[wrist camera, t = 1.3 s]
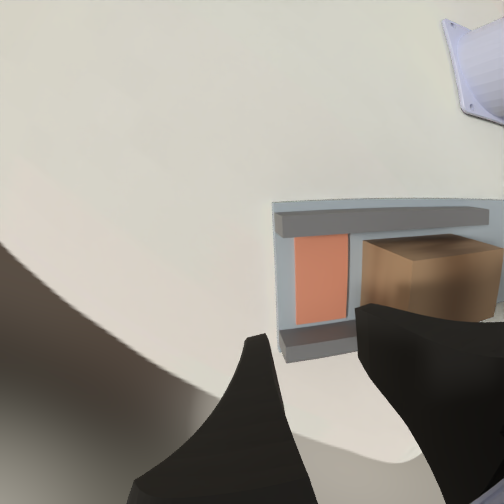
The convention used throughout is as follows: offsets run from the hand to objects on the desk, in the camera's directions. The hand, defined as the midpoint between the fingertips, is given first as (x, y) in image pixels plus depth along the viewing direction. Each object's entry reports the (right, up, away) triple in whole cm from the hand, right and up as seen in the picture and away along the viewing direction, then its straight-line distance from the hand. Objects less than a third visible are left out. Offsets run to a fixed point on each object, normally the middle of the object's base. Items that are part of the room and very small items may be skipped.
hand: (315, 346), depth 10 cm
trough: (+12, +3, +8) cm, 15 cm away
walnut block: (+8, +2, +8) cm, 11 cm away
